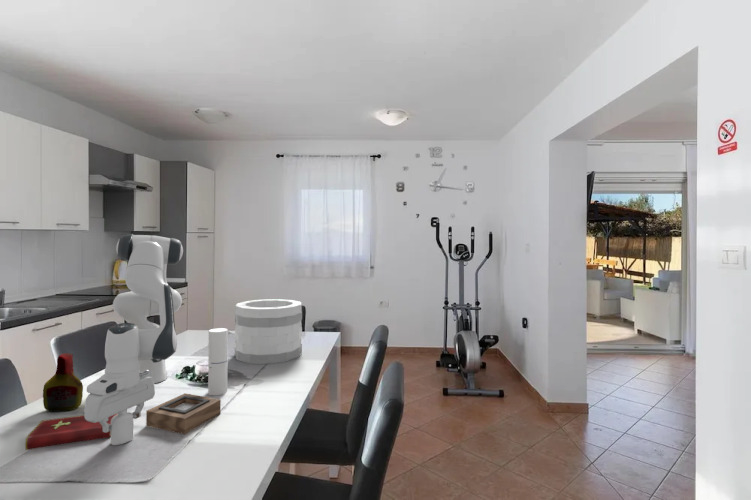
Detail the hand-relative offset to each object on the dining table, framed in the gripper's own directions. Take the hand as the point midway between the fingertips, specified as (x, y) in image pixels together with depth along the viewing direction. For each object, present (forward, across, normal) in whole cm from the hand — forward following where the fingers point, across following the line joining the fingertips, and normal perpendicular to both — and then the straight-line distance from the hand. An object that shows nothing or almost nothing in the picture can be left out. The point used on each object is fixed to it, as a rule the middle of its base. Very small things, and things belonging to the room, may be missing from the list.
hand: (122, 424), depth 118 cm
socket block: (+5, -18, +6) cm, 20 cm away
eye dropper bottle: (+5, 0, 0) cm, 5 cm away
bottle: (+5, -9, -40) cm, 41 cm away
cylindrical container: (+5, -42, -1) cm, 42 cm away
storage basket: (+6, -95, -13) cm, 96 cm away
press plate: (+2, -18, +6) cm, 19 cm away
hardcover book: (+6, +2, -17) cm, 18 cm away
